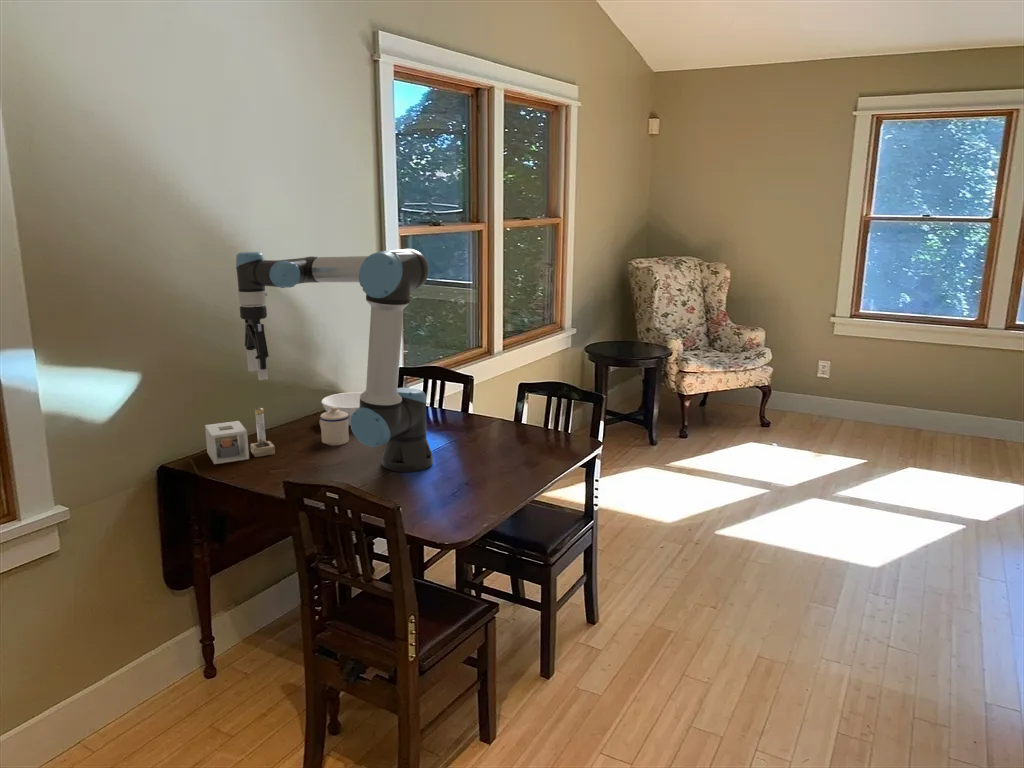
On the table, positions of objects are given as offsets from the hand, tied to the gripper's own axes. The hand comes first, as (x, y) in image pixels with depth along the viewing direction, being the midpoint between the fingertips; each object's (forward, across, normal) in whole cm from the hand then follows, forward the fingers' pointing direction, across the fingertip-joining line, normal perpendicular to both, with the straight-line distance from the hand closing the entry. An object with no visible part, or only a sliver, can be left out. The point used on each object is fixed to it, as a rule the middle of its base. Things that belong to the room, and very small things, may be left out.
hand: (258, 375), depth 238 cm
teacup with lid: (+26, +3, -23) cm, 34 cm away
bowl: (+26, +21, -36) cm, 49 cm away
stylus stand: (+25, 0, 0) cm, 25 cm away
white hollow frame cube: (+25, +2, +10) cm, 27 cm away
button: (+23, +2, +10) cm, 26 cm away
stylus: (+24, 0, 0) cm, 25 cm away
